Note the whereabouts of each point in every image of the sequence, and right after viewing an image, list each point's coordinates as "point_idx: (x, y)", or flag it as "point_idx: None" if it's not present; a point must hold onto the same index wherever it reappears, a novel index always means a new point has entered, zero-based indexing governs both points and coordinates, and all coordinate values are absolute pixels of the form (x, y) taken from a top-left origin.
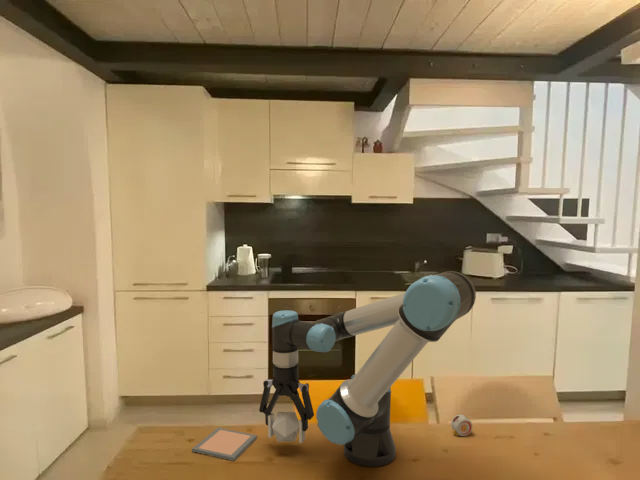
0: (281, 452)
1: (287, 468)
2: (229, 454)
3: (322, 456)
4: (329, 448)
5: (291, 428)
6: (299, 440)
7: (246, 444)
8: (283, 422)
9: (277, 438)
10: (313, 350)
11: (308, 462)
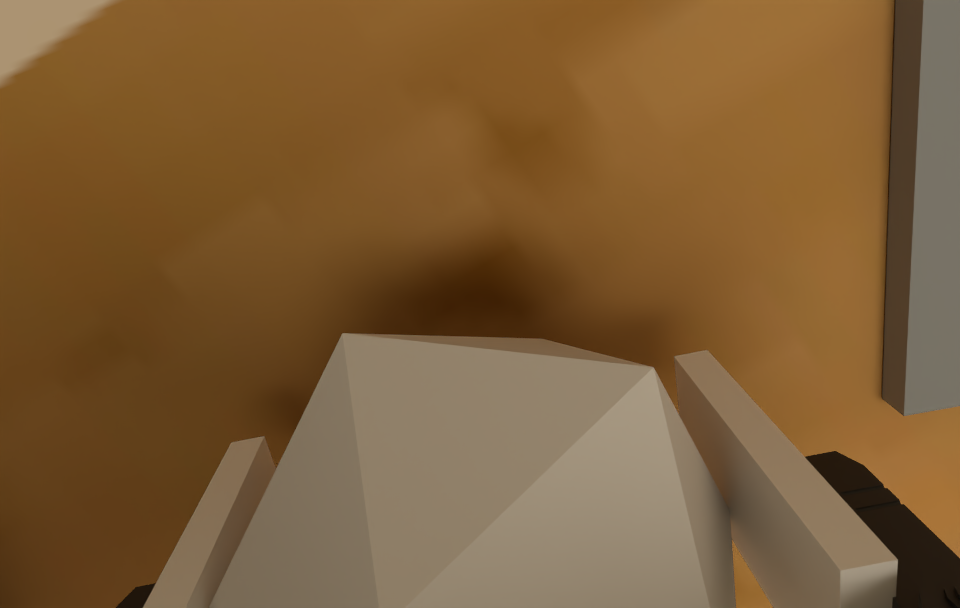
0: (496, 315)
1: (236, 84)
2: None
3: (102, 461)
4: None
5: (287, 504)
6: (252, 453)
7: (925, 199)
8: (424, 521)
9: (537, 340)
10: None
11: (135, 305)
